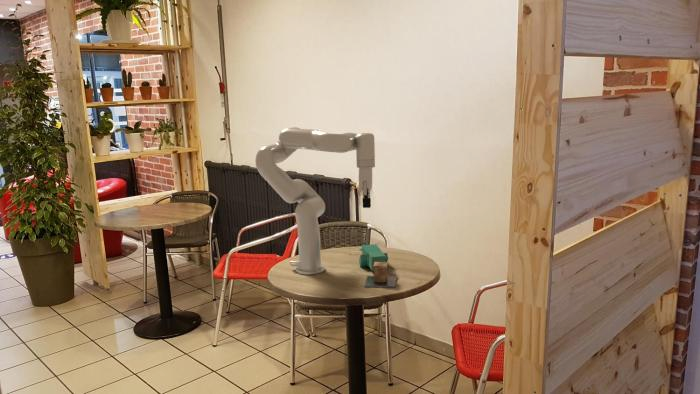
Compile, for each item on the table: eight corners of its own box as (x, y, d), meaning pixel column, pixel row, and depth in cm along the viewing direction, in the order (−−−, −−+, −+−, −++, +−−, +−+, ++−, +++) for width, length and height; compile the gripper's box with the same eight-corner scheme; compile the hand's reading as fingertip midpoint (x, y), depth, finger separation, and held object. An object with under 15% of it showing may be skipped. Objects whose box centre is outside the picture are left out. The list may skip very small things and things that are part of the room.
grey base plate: (364, 287, 207) (364, 270, 206) (367, 277, 219) (367, 261, 218) (394, 287, 206) (394, 270, 204) (396, 277, 217) (395, 261, 216)
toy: (377, 235, 250) (392, 251, 221) (378, 254, 252) (392, 273, 223) (353, 237, 249) (364, 253, 219) (353, 256, 250) (365, 276, 221)
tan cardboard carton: (373, 282, 210) (373, 265, 209) (374, 277, 215) (374, 261, 214) (386, 282, 209) (386, 265, 208) (387, 278, 214) (387, 262, 213)
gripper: (358, 161, 222) (359, 204, 226) (354, 165, 208) (355, 211, 211) (376, 161, 221) (377, 204, 225) (373, 165, 207) (374, 211, 210)
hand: (366, 207), depth 218 cm, fingers closed
